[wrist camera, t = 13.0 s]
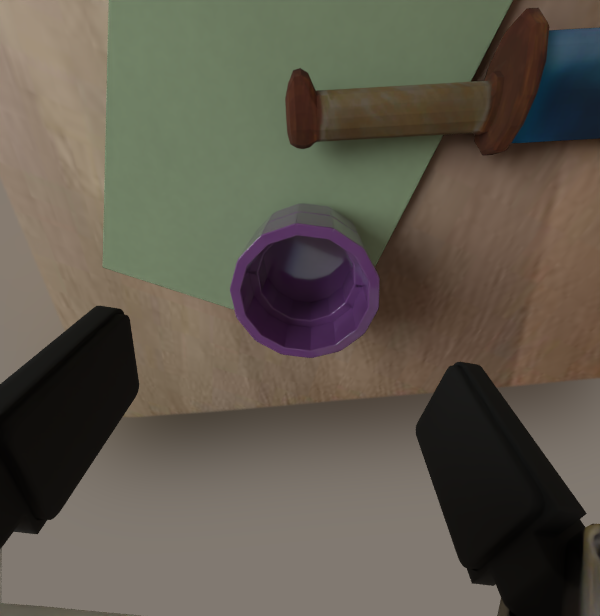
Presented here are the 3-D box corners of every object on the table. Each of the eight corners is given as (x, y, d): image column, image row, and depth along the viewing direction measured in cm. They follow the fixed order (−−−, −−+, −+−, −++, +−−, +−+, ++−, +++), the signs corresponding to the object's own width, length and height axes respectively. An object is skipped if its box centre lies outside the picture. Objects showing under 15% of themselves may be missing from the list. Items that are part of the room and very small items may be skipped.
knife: (1008, -26, 10) (845, 143, 13) (868, -7, 12) (759, 132, 16) (279, 17, 10) (289, 175, 13) (280, 27, 12) (288, 158, 16)
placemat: (106, 265, 19) (102, 267, 19) (121, -273, 10) (114, -288, 10) (335, 339, 21) (335, 342, 21) (533, -47, 12) (540, -52, 12)
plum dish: (239, 290, 19) (217, 334, 15) (270, 181, 16) (253, 198, 12) (336, 322, 20) (342, 373, 16) (385, 225, 17) (409, 256, 13)
